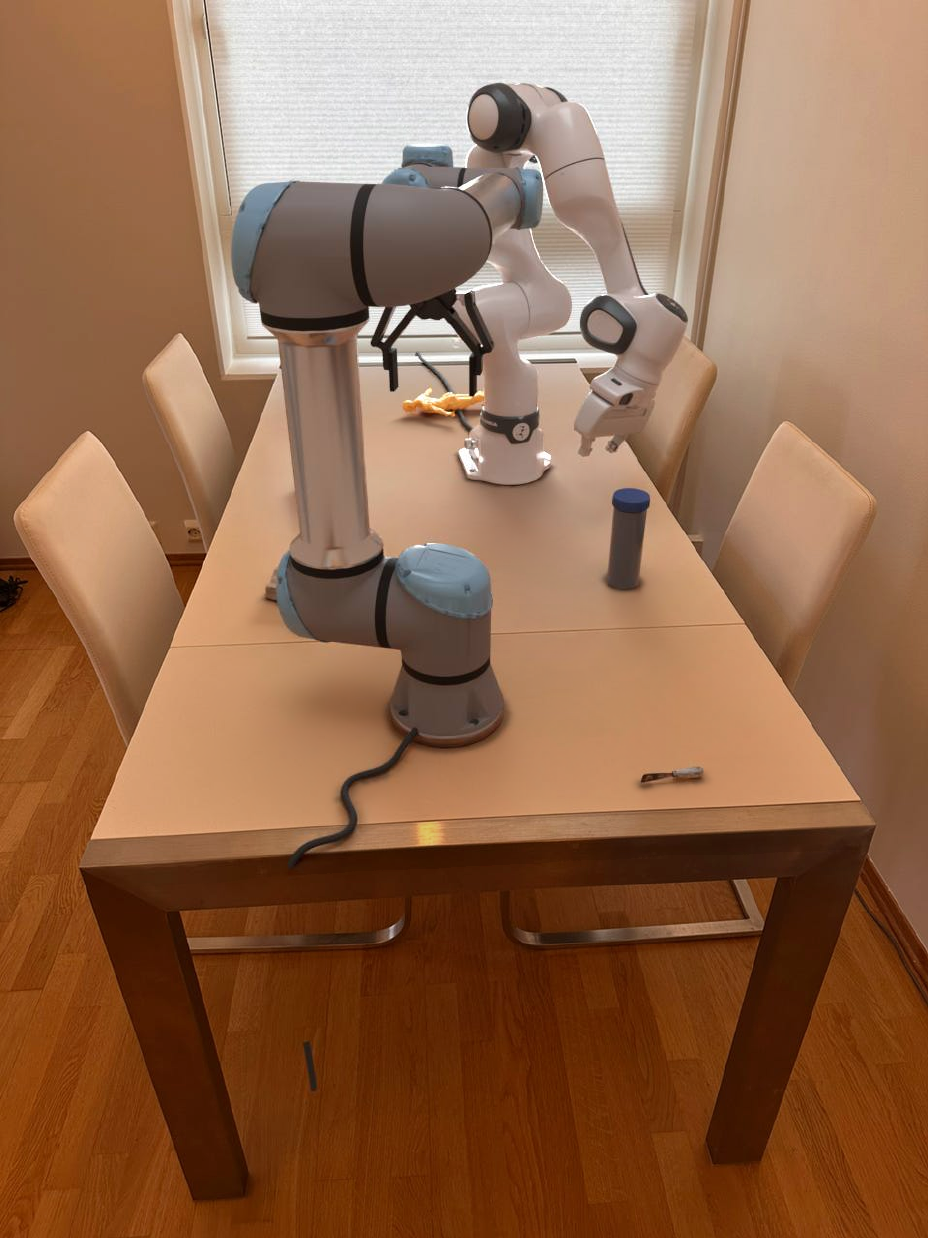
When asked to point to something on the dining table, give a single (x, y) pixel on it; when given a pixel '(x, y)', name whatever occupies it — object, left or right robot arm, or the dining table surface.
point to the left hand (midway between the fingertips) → (433, 391)
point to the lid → (631, 500)
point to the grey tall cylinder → (626, 549)
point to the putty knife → (674, 774)
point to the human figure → (442, 402)
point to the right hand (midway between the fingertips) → (596, 452)
